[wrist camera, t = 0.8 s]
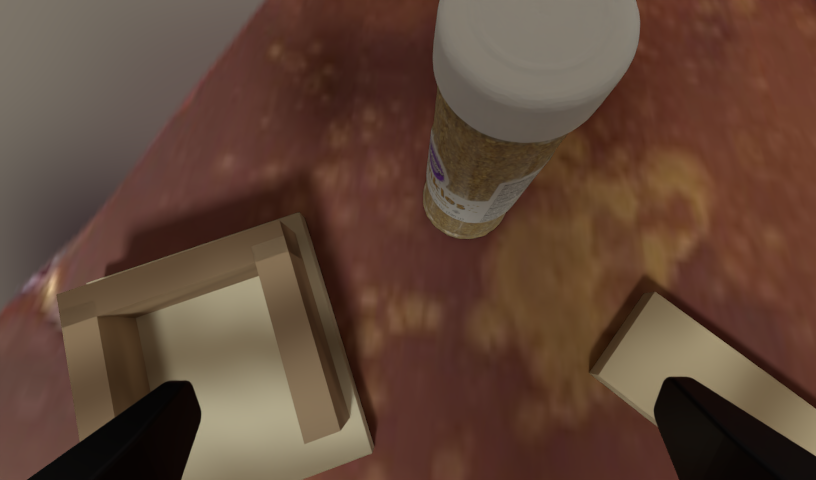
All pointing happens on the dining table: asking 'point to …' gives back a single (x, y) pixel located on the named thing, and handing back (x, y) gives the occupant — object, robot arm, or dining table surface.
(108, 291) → the beige wooden u-shaped tray
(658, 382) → the loose plank
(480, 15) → the sprinkles bottle
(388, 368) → the dining table surface
